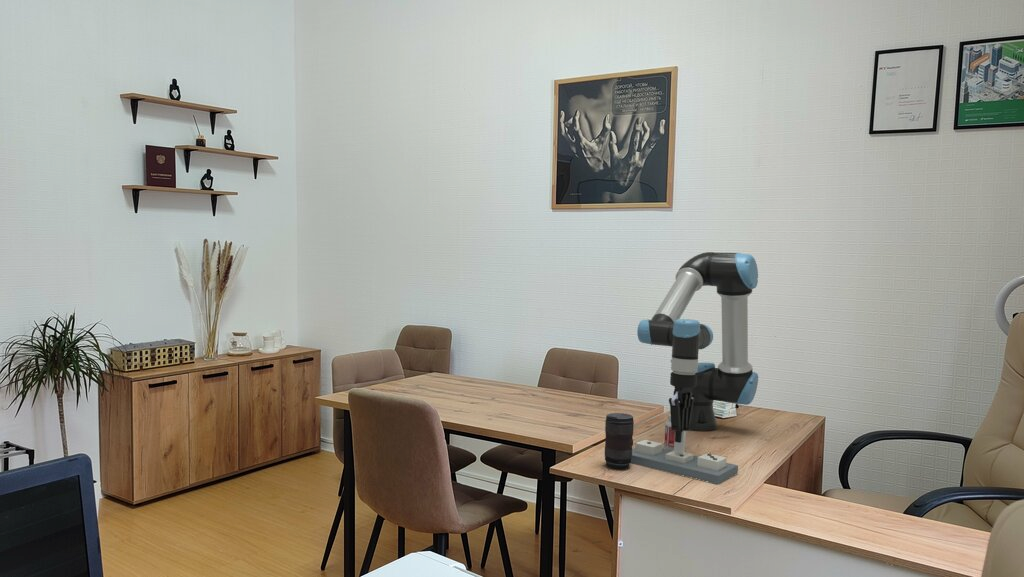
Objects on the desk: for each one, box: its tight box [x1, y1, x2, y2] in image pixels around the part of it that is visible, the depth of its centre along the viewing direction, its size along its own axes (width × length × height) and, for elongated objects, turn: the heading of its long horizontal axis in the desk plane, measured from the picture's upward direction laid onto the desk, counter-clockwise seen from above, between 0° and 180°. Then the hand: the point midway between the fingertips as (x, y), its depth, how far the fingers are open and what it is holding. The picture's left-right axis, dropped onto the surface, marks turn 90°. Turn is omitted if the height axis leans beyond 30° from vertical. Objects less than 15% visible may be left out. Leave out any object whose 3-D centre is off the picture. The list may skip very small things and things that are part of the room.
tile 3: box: [697, 452, 727, 471], centre depth 206 cm, size 6×6×4 cm
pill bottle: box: [663, 413, 675, 451], centre depth 231 cm, size 6×6×11 cm
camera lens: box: [604, 412, 635, 471], centre depth 210 cm, size 8×8×15 cm
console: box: [630, 447, 739, 485], centre depth 212 cm, size 14×30×2 cm, turn 51°
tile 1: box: [634, 439, 664, 456], centre depth 218 cm, size 6×6×4 cm
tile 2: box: [665, 451, 694, 464], centre depth 212 cm, size 6×6×4 cm
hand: (679, 452), depth 212 cm, fingers closed
